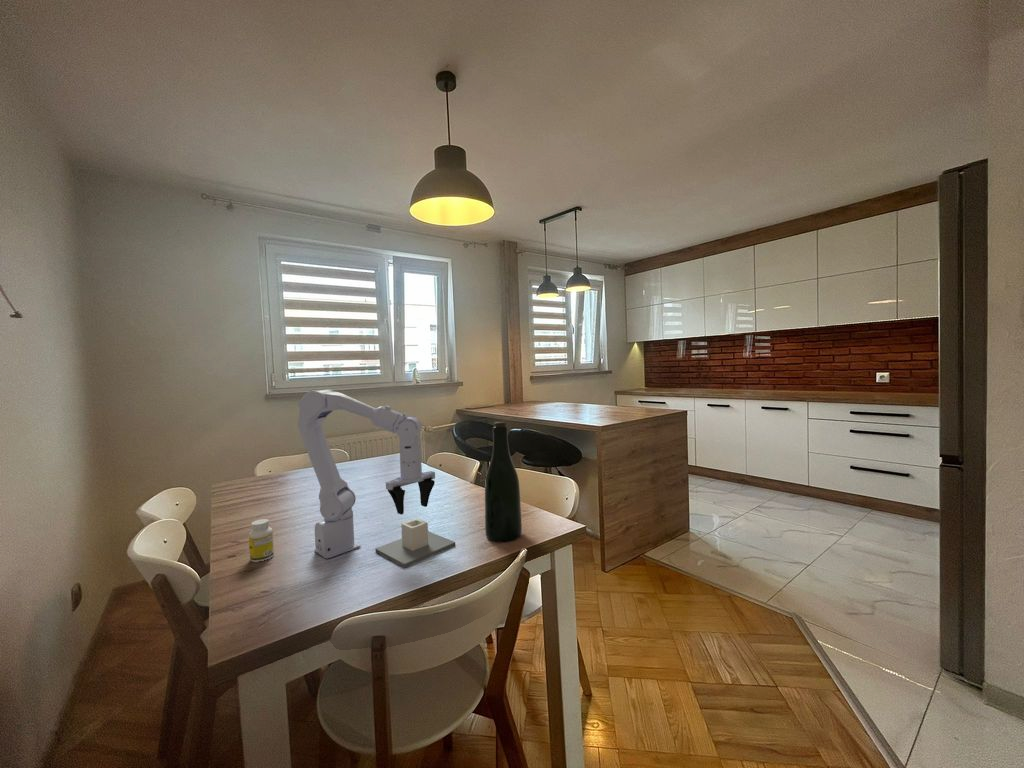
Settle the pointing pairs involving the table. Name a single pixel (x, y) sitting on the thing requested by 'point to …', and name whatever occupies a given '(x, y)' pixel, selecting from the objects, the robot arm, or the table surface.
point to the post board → (409, 557)
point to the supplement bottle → (261, 541)
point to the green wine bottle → (502, 491)
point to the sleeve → (414, 534)
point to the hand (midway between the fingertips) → (412, 509)
